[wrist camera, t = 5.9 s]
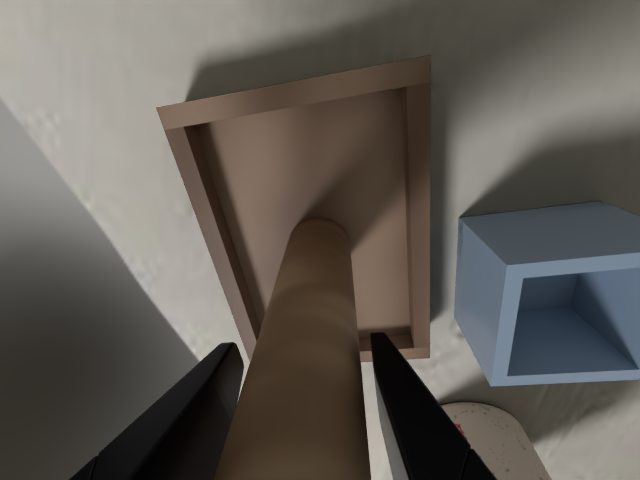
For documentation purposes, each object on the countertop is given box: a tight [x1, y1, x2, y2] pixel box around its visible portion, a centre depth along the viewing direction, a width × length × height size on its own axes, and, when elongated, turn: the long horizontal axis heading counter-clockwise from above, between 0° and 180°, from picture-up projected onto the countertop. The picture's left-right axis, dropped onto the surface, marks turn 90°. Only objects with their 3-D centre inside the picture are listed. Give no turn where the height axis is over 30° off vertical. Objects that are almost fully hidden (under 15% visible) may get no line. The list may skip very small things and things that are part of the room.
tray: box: [156, 55, 430, 362], centre depth 14 cm, size 10×14×2 cm
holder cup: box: [454, 201, 640, 387], centre depth 13 cm, size 6×6×4 cm
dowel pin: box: [214, 217, 371, 480], centre depth 10 cm, size 3×3×10 cm
